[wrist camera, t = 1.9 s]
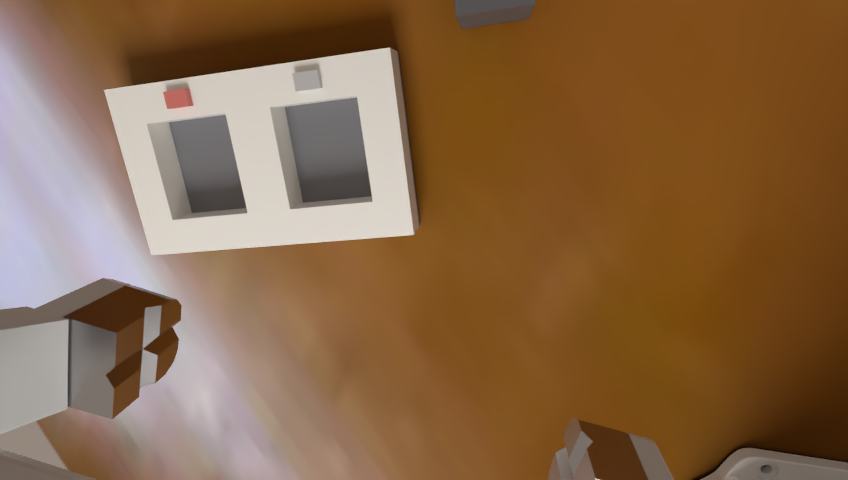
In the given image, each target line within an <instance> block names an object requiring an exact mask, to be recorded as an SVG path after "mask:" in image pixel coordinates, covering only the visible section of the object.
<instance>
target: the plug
mask: <svg viewBox="0 0 848 480" xmlns="http://www.w3.org/2000/svg"><path fill="white" fill-rule="evenodd" d="M534 5H535V0H455V9H456V17H457V19H458V21H459V24H460V26H461V28H462V29H466V28H472V27H479V26H485V25H492V24H499V23H505V22H512V21H518V20H525V19H529V17H530V15H531V12H532V10H533V8H534Z"/></svg>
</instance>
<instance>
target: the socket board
mask: <svg viewBox="0 0 848 480" xmlns="http://www.w3.org/2000/svg"><path fill="white" fill-rule="evenodd" d="M104 92H105V95H106V99H107V102H108V106H109V109H110V113H111V116H112V120H113V123H114V127H115V130H116V133H117V137H118V140H119V144H120V147H121V151H122V154H123V158H124V161H125V165H126V168H127V172H128V175H129V179H130V182H131V186H132V189H133V193H134V196H135V200H136V203H137V207H138V210H139V214H140V217H141V221H142V224H143V228H144V231H145V235H146V238H147V242H148V245H149V249H150V252H151V255H161V254H174V253H187V252H200V251H213V250H226V249H238V248H251V247H264V246H277V245H290V244H303V243H316V242H328V241H341V240H354V239H367V238H380V237H393V236H406V235H414V234H415V232H416V231H417V229H418V227H419V226H420V220H419V212H418V204H417V196H416V188H415V180H414V172H413V164H412V156H411V147H410V139H409V131H408V123H407V115H406V107H405V99H404V91H403V83H402V75H401V67H400V59H399V52H397V51H396V50H394V49H392V48H390V47H389V48H383V49H376V50H369V51H362V52H356V53H349V54H342V55H336V56H329V57H322V58H316V59H309V60H302V61H295V62H289V63H282V64H275V65H269V66H262V67H255V68H248V69H242V70H235V71H228V72H222V73H215V74H208V75H202V76H195V77H188V78H181V79H175V80H168V81H161V82H155V83H148V84H141V85H135V86H128V87H121V88H114V89H108V90H104Z"/></svg>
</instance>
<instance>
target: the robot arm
mask: <svg viewBox="0 0 848 480" xmlns="http://www.w3.org/2000/svg"><path fill="white" fill-rule="evenodd" d="M180 320H181V304H180V303H179V302H178V300H176V299H173V298H170V297H167V296H164V295H161V294H158V293H155V292H151V291H148V290H145V289H142V288H139V287H136V286H131V285H130V284H127V283H123V282H120V281H116V280H113V279H105V278H102V279H100V280H98V281H95V282H93V283H91V284H89V285H87V286H84V287H82V288H80V289H78V290H75V291H73V292H71V293H69V294H66V295H64V296H62V297H60V298H58V299H55V300H53V301H51V302H49V303H46V304H44V305H42V306H40V307H37V308H35V309H33V308H30V307H19V308H11V309H3V310H0V434H2V433H5V432H7V431H10V430H13V429H15V428H18V427H21V426H23V425H26V424H29V423H31V422H34V421H37V420H39V419H42V418H45V417H47V416H50V415H53V414H55V413H58V412H61V411H63V410H66V409H67V408H68V407H71V408H75V409H78V410H82V411H85V412H89V413H93V414H96V415H100V416H103V417H107V418H110V419H113V418H114V417H115V416H117V415H118V414H119V413H120V412H121V411H123V410H124V409H125V408H126V407H127V406H129V405H130V404H131V403H132V402H133V401H135V400H136V399H137V398H138V397H139V389H140V387H143V386H147V385H150V384H154V383H156V382H157V381H158V380H159V379H160V378H161V377H163V376H164V375H165V374H166V372H167V371H168V369H169V368H170V366H171V365H172V363H173V361H174V359H175V356H176V353H177V349H178V340H179V339H178V337H177V335H176V333H175V331H174V329H173V326H175V325H176V324H177V323H178V322H179V321H180ZM563 435H564V440H565V444H566V447H565V448H563V449H561V450H560V451H558V452H556V453H555V456H554V459H553V461H552V464H551V466H550V472H549V477H548V480H674V479H673V477H672V475H671V473H670V471H669V469H668V467H667V465H666V463H665V461H664V459H663V457H662V455H661V453H660V451H659V449H658V447H657V445H656V443H655V442H654V441H652V440H651V439H650V438H646V437H642V436H638V435H634V434H630V433H627V432H622V431H618V430H614V429H611V428H607V427H603V426H600V425H596V424H592V423H589V422H585V421H581V420H578V419H574V418H572V420H571V421H570V422H569V424H568V425H567V428H566V430H565V432H564V434H563ZM764 465H766V466H764ZM762 466H764V467H762ZM0 480H96V479H93V478H90V477H87V476H84V475H81V474H78V473H75V472H71V471H68V470H65V469H62V468H59V467H56V466H53V465H50V464H46V463H43V462H40V461H37V460H34V459H31V458H27V457H25V456H22V455H18V454H15V453H12V452H9V451H6V450H3V449H0ZM700 480H848V463H847V462H840V461H834V460H827V459H820V458H814V457H807V456H801V455H794V454H788V453H781V452H775V451H768V450H762V449H755V448H742V449H739V450H737V451H736V452H734V453H733V454H731V455H730V456H729V457H728V458H727V459H726V460H725V461H724V462H723V463H722V464H721V466H720V467H719V468H718V469H717V470H716V471H715V472H713V473H712V474H710V475H708V476H706V477H704V478H702V479H700Z"/></svg>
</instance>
